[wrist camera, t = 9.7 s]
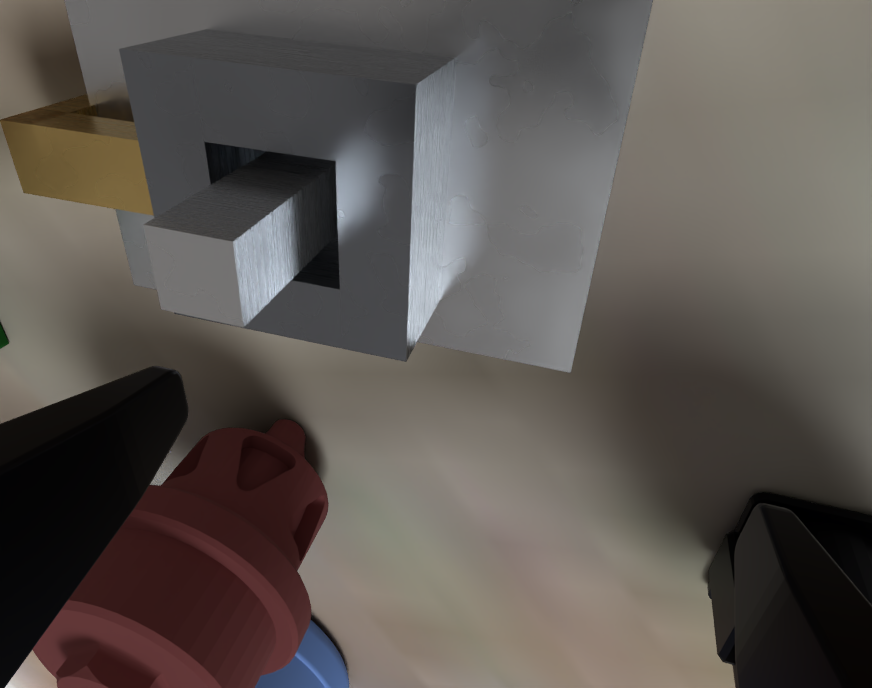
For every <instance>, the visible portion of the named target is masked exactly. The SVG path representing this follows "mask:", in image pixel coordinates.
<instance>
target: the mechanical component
mask: <svg viewBox="0 0 872 688" xmlns="http://www.w3.org/2000/svg"><path fill="white" fill-rule="evenodd" d="M304 447H305V433H304V431H303V430H302V428H301V427H300V426H299V425H298V424H297V423H295V422H294V421H291V420H287V419H280V420H278V421H276V422H275V423H274V424H273V426H272V427H271V428H270V429H269V431H267V432H266V433H265V434H264V433H261V432H258V431H254V430H250V429H245V428H223V429H217V430H215V431H212V432H209V433H208V434H207V435H205V436H204V437H202V438H201V440H200V441H199V442H198V443H197V444H196V445H195V447H194V448H193V449H192V450H191V451H190V452H189V453H188V455H187V456H186V457H185V458H184V459H183V460H182V461H181V463H180V464H179V465H178V466H177V467H176V468H175V470H174V471H173V472H172V473H171V474H170V476H169V477H168V478H167V479H166V480H165V482H164V483H163V484H162V485H161V486H157V485H149V487H148V488H147V490H146V492H145V493H144V495H143V496H142V498H141V499H140V501H139V502H138V504H137V505H136V507H135V508H134V510H133V511H132V513H131V514H130V515H129V517H128V518H127V519H126V521H125V522H124V524H123V525H122V526H121V528H120V529H119V530H118V532H117V533H116V535H115V536H114V537H113V539H112V540H111V542H110V543H109V544H108V546H107V547H106V548H105V550H104V551H103V553H102V554H101V555H100V557H99V558H98V559H97V561H96V562H95V564H94V565H93V566H92V568H91V569H90V570H89V572H88V573H87V575H86V576H85V577H84V579H83V580H82V582H81V583H80V584H79V586H78V587H77V588H76V590H75V591H74V593H73V594H72V595H71V597H70V598H69V599H68V601H67V602H66V604H65V605H64V606H63V608H62V609H61V611H60V612H59V613H58V615H57V616H56V617H55V619H54V620H53V622H52V623H51V624H50V626H49V627H48V628H47V630H46V631H45V633H44V634H43V635H42V637H41V638H40V640H39V641H38V642H37V644H36V645H35V646H34V648H33V651H34V653H35V654H36V656H37V657H38V659H39V660H40V661H41V662H42V664H43V665H44V666H45V667H46V668H47V670H48V671H49V672H50V673H51V674H52V675H53V676H54V677H55V678H56V679H57V687H58V688H255V686H256V684H257V682H258V680H259V678H260V676H261V675H265V674H269V673H273V672H275V671H277V670H280V669H282V668H283V667H285V666H286V665H287V664H289V663H290V661H291V660H292V659H293V657H294V656H295V654H296V652H297V650H298V648H299V646H300V644H301V642H302V639H303V637H304V635H305V633H306V631H307V629H308V627H309V624H310V619H311V604H310V600H309V596H308V593H307V591H306V588H305V586H304V584H303V581H302V579H301V577H300V575H299V573H298V572H297V570H298V568H299V567H300V565H301V563H302V561H303V559H304V557H305V555H306V553H307V552H308V550H309V548H310V546H311V544H312V542H313V540H314V539H315V537H316V535H317V533H318V531H319V529H320V527H321V525H322V524H323V522H324V520H325V518H326V515H327V512H328V498H327V493H326V490H325V487H324V485H323V483H322V481H321V479H320V478H319V476H318V474H317V473H316V472H315V470H314V469H313V468H312V466H311V465H310V464H309V463H308V462H307V461H306V460H305V454H304Z"/></svg>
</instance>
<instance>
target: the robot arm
mask: <svg viewBox="0 0 872 688" xmlns="http://www.w3.org/2000/svg"><path fill="white" fill-rule="evenodd" d="M187 417H188V404H187V400H186V395H185V390H184V386H183V381H182V377H181V375H180V374H179V372H178V371H176V370H173V369H169V368H164V367H160V366H152V367H149V368H146V369H144V370H141V371H139V372H136V373H133V374H131V375H128V376H125V377H123V378H120V379H118V380H115V381H112V382H110V383H107V384H104V385H102V386H99V387H96V388H94V389H91V390H89V391H86V392H83V393H81V394H78V395H75V396H73V397H70V398H67V399H65V400H62V401H60V402H57V403H54V404H52V405H49V406H46V407H44V408H41V409H38V410H36V411H33V412H31V413H28V414H25V415H23V416H20V417H17V418H15V419H12V420H10V421H7V422H4V423H2V424H0V688H5V686H6V685H7V684H8V682H9V681H10V680H11V678H12V677H13V675H14V674H15V673H16V671H17V670H18V669H19V667H20V666H21V664H22V663H23V662H24V660H25V659H26V657H27V656H28V655H29V653H30V652H31V651H32V649H33V648H34V646H35V645H36V644H37V642H38V641H39V640H40V638H41V637H42V635H43V634H44V633H45V631H46V630H47V628H48V627H49V626H50V624H51V623H52V622H53V620H54V619H55V617H56V616H57V615H58V613H59V612H60V611H61V609H62V608H63V606H64V605H65V604H66V602H67V601H68V599H69V598H70V597H71V595H72V594H73V593H74V591H75V590H76V588H77V587H78V586H79V584H80V583H81V582H82V580H83V579H84V577H85V576H86V575H87V573H88V572H89V570H90V569H91V568H92V566H93V565H94V564H95V562H96V561H97V559H98V558H99V557H100V555H101V554H102V553H103V551H104V550H105V548H106V547H107V546H108V544H109V543H110V542H111V540H112V539H113V537H114V536H115V535H116V533H117V532H118V530H119V529H120V528H121V526H122V525H123V524H124V522H125V521H126V519H127V518H128V517H129V515H130V514H131V513H132V511H133V510H134V508H135V507H136V505H137V504H138V502H139V501H140V499H141V498H142V496H143V495H144V493H145V492H146V490H147V488H148V487H149V485H150V483H151V482H152V480H153V478H154V476H155V475H156V473H157V471H158V470H159V468H160V466H161V464H162V463H163V461H164V459H165V457H166V456H167V454H168V452H169V450H170V449H171V447H172V445H173V444H174V442H175V440H176V438H177V437H178V435H179V433H180V431H181V430H182V428H183V426H184V425H185V422H186V420H187ZM709 580H710V581H709V583H708V595H709V597H710V599H712V608H713V617H714V627H715V636H716V645H717V654H718V656H719V657H720V659H721V660H722V661H723V662H725V663H728V664H732V665H733V672H734V680H735V688H872V516H871V515H866V514H862V513H857V512H853V511H848V510H844V509H839V508H835V507H830V506H826V505H821V504H817V503H812V502H808V501H804V500H799V499H795V498H790V497H786V496H781V495H777V494H772V493H766V492H761V493H757V494H755V495H753V496H752V497H751V498H750V500H749V502H748V504H747V506H746V508H745V510H744V512H743V514H742V516H741V518H740V520H739V522H738V524H737V526H736V529H735V531H731V532H729V533H728V534H726V536H725V538H724V540H723V542H722V544H721V546H720V548H719V550H718V552H717V554H716V557H715V559H714V561H713V563H712V565H711V567H710V569H709Z"/></svg>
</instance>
